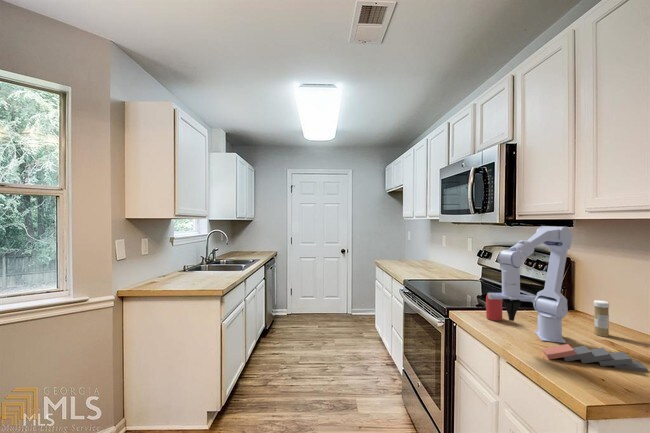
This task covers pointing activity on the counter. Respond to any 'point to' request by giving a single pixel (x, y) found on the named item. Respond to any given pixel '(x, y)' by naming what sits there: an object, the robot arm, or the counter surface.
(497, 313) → the beer can
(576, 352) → the domino
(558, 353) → the red domino
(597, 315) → the sprinkles bottle
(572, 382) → the counter surface
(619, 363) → the domino
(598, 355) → the domino
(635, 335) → the counter surface
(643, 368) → the domino
